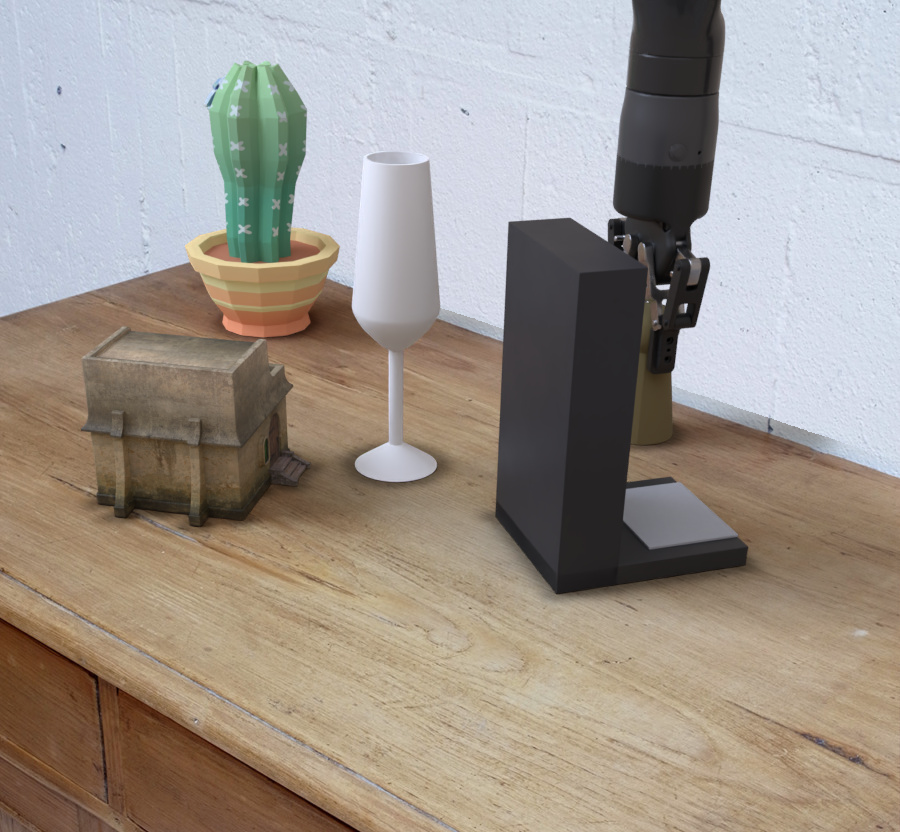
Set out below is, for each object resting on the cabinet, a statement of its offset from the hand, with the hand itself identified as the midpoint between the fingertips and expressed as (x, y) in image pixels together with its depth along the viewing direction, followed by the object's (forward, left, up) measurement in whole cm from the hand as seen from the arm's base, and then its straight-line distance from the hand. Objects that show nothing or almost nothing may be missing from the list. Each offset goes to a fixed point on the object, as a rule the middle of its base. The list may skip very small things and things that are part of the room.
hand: (644, 359), depth 110 cm
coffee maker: (+11, +18, -6) cm, 22 cm away
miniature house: (+37, 0, -7) cm, 38 cm away
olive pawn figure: (0, 0, -7) cm, 7 cm away
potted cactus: (+25, -36, -7) cm, 44 cm away
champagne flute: (+22, +1, -7) cm, 23 cm away
